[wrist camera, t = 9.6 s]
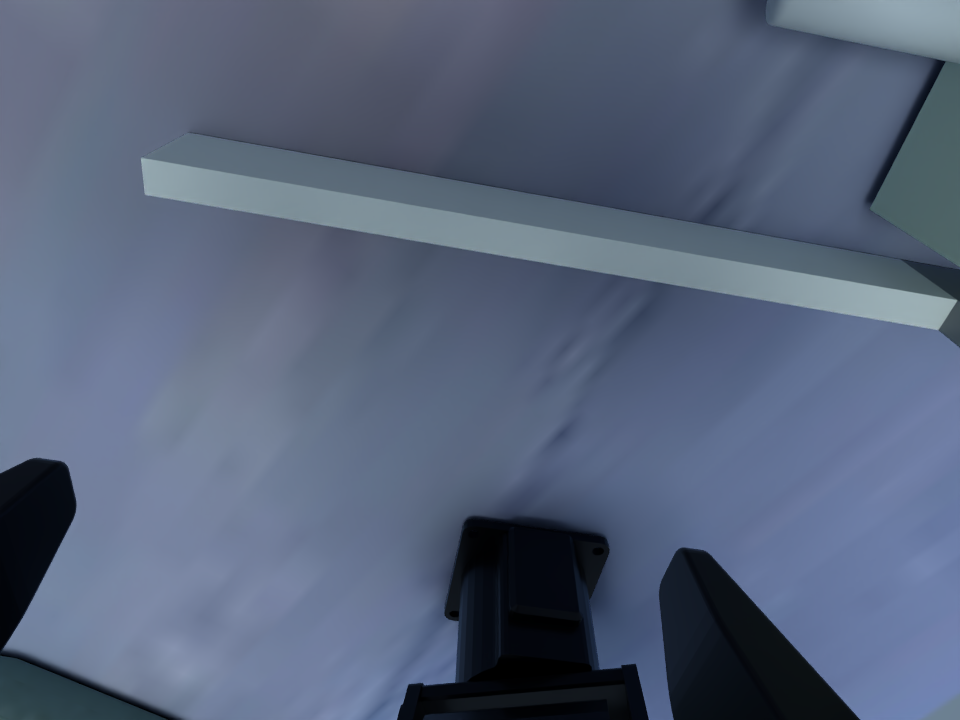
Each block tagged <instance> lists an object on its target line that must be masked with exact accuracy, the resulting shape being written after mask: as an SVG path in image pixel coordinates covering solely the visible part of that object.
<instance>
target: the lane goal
mask: <svg viewBox="0 0 960 720" xmlns="http://www.w3.org/2000/svg"><path fill="white" fill-rule="evenodd" d="M141 164H142V173H143V182H144V191H145V195H149V196H155V197H160V198H166V199H172V200H178V201H184V202H190V203H196V204H201V205H207V206H213V207H219V208H225V209H231V210H237V211H243V212H248V213H254V214H260V215H266V216H272V217H278V218H284V219H289V220H295V221H301V222H307V223H313V224H319V225H325V226H331V227H336V228H342V229H348V230H354V231H360V232H366V233H372V234H377V235H383V236H389V237H395V238H401V239H407V240H413V241H419V242H424V243H430V244H436V245H442V246H448V247H454V248H460V249H465V250H471V251H477V252H483V253H489V254H495V255H501V256H507V257H512V258H518V259H524V260H530V261H536V262H542V263H548V264H553V265H559V266H565V267H571V268H577V269H583V270H589V271H595V272H600V273H606V274H612V275H618V276H624V277H630V278H636V279H641V280H647V281H653V282H659V283H665V284H671V285H677V286H683V287H688V288H694V289H700V290H706V291H712V292H718V293H724V294H729V295H735V296H741V297H747V298H753V299H759V300H765V301H771V302H776V303H782V304H788V305H794V306H800V307H806V308H812V309H817V310H823V311H829V312H835V313H841V314H847V315H853V316H859V317H864V318H870V319H876V320H882V321H888V322H894V323H900V324H905V325H911V326H917V327H923V328H929V329H935V330H939V331H940V332H941V333H943V334H944V335H945V336H946V337H948V338H949V339H950V340H951V341H952V342H954V343H955V344H956V345H957V346H959V347H960V270H957V269H951V268H945V267H940V266H934V265H929V264H923V263H917V262H912V261H906V260H901V259H895V258H889V257H884V256H878V255H872V254H867V253H861V252H856V251H850V250H844V249H839V248H833V247H828V246H822V245H816V244H811V243H805V242H800V241H794V240H788V239H783V238H777V237H772V236H766V235H760V234H755V233H749V232H744V231H738V230H732V229H727V228H721V227H715V226H710V225H704V224H699V223H693V222H687V221H682V220H676V219H671V218H665V217H659V216H654V215H648V214H643V213H637V212H631V211H626V210H620V209H615V208H609V207H603V206H598V205H592V204H586V203H581V202H575V201H570V200H564V199H558V198H553V197H547V196H542V195H536V194H530V193H525V192H519V191H514V190H508V189H502V188H497V187H491V186H486V185H480V184H474V183H469V182H463V181H458V180H452V179H446V178H441V177H435V176H429V175H424V174H418V173H413V172H407V171H401V170H396V169H390V168H385V167H379V166H373V165H368V164H362V163H357V162H351V161H345V160H340V159H334V158H329V157H323V156H317V155H312V154H306V153H300V152H295V151H289V150H284V149H278V148H272V147H267V146H261V145H256V144H250V143H244V142H239V141H233V140H228V139H222V138H216V137H211V136H205V135H200V134H194V133H186V134H185V135H183V136H181V137H179V138H177V139H175V140H173V141H171V142H169V143H168V144H166V145H164V146H162V147H160V148H158V149H156V150H154V151H153V152H151V153H149V154H147V155H145V156H143V157H141Z"/></svg>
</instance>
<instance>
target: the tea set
mask: <svg viewBox="0 0 960 720" xmlns="http://www.w3.org/2000/svg"><path fill="white" fill-rule="evenodd" d="M0 720H167V719H165V718H162V717H160V716H157V715H155V714H152V713H150V712H147V711H145V710H143V709H140V708H138V707H135V706H133V705H130V704H128V703H125V702H123V701H120V700H118V699H115V698H113V697H111V696H108V695H106V694H103V693H101V692H98V691H96V690H93V689H91V688H88V687H86V686H83V685H81V684H79V683H76V682H74V681H71V680H69V679H66V678H64V677H61V676H59V675H56V674H54V673H51V672H49V671H47V670H44V669H42V668H39V667H37V666H34V665H32V664H29V663H27V662H24V661H22V660H19V659H17V658H11V657H5V656H0Z"/></svg>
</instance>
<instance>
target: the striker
mask: <svg viewBox="0 0 960 720" xmlns="http://www.w3.org/2000/svg"><path fill="white" fill-rule="evenodd" d="M765 17H766V22H767V24H768V25H771V26H776V27H781V28H786V29H790V30H795V31H800V32H805V33H810V34H815V35H820V36H825V37H830V38H835V39H840V40H844V41H849V42H854V43H859V44H864V45H869V46H874V47H879V48H884V49H889V50H894V51H898V52H903V53H908V54H913V55H918V56H923V57H928V58H933V59H938V60H943V61H946V62H945V64H944V66H943V68H942V70H941V72H940V74H939V76H938V78H937V79H936V81H935V83H934V85H933V87H932V89H931V91H930V93H929V95H928V97H927V99H926V101H925V103H924V105H923V107H922V109H921V111H920V112H919V114H918V116H917V118H916V120H915V122H914V124H913V126H912V128H911V130H910V132H909V134H908V136H907V138H906V140H905V142H904V144H903V145H902V147H901V149H900V151H899V153H898V155H897V157H896V159H895V161H894V163H893V165H892V167H891V169H890V171H889V173H888V175H887V177H886V178H885V180H884V182H883V184H882V186H881V188H880V190H879V192H878V194H877V196H876V198H875V200H874V202H873V204H872V206H871V208H870V210H871V211H873V212H874V213H876V214H878V215H879V216H881V217H882V218H884V219H885V220H887V221H888V222H890V223H892V224H893V225H895V226H896V227H898V228H899V229H901V230H902V231H904V232H906V233H907V234H909V235H910V236H912V237H913V238H915V239H917V240H918V241H920V242H921V243H923V244H924V245H926V246H927V247H929V248H931V249H932V250H934V251H935V252H937V253H938V254H940V255H941V256H943V257H945V258H946V259H948V260H949V261H951V262H952V263H954V264H955V265H957V266H959V267H960V0H767V3H766V11H765Z"/></svg>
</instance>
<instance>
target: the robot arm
mask: <svg viewBox="0 0 960 720" xmlns="http://www.w3.org/2000/svg"><path fill="white" fill-rule="evenodd" d="M75 513H76V498H75V494H74V489H73V485H72V481H71V476H70V472H69V469H68V466H67V465H66V464H65V463H64V462H61V461H57V460H49V459H42V458H33V459H29V460H27V461H25V462H23V463H21V464H19V465H17V466H15V467H13V468H10V469H8V470H6V471H4V472H2V473H0V653H1V651H2V650H3V648H4V646H5V645H6V643H7V642H8V640H9V639H10V637H11V636H12V634H13V632H14V631H15V629H16V628H17V626H18V624H19V623H20V621H21V619H22V618H23V616H24V614H25V612H26V610H27V609H28V607H29V605H30V603H31V601H32V599H33V597H34V595H35V593H36V592H37V590H38V588H39V586H40V584H41V582H42V580H43V578H44V576H45V574H46V572H47V570H48V568H49V566H50V564H51V562H52V560H53V558H54V556H55V554H56V552H57V550H58V548H59V546H60V544H61V542H62V540H63V539H64V537H65V535H66V533H67V531H68V529H69V527H70V525H71V523H72V521H73V519H74V516H75ZM471 530H476V531H471ZM597 547H600V548H597ZM609 551H610V549H609V544H608V541H607V540H606V539H605V538H603V537H600V536H593V535H586V534H578V533H571V532H564V531H557V530H550V529H543V528H535V527H528V526H521V525H514V524H507V523H499V522H492V521H485V520H478V519H471V520H467V521H466V522H465V523H464V525H463V527H462V532H461V536H460V541H459V545H458V550H457V554H456V559H455V563H454V568H453V572H452V577H451V581H450V585H449V590H448V594H447V599H446V603H445V612H444V613H445V616H446V618H448V619H450V620H453V621H459V627H458V645H457V662H456V680H455V683H446V684H435V685H424V684H423V683H417V684H409V685H408V688H407V692H406V695H405V699H404V702H403V705H401V707H400V711H399V714H398V718H397V720H649V719H648V714H647V710H646V706H645V701H644V697H643V693H642V688H641V684H640V680H639V676H638V671H637V667H636V664H629V665H621V667H622V668H614V669H603V670H600V669H599V662H598V655H597V648H596V642H595V635H594V628H593V621H592V615H591V608H590V598H591V596H592V594H593V591H594V589H595V586H596V584H597V581H598V579H599V577H600V574H601V572H602V569H603V567H604V564H605V562H606V560H607V557H608V555H609ZM659 600H660V610H661V620H662V630H663V641H664V651H665V661H666V671H667V681H668V689H669V697H670V702H671V708H672V713H673V718H674V720H860V719H859V718H858V717H857V716H856V715H855V713H854V712H853V711H852V710H851V709H850V708H849V707H848V706H847V705H846V704H845V702H844V701H843V700H842V699H841V698H840V697H839V696H838V695H837V694H836V693H835V691H834V690H833V689H832V688H831V687H830V686H829V685H828V684H827V683H826V681H825V680H824V679H823V678H822V677H821V676H820V675H819V674H818V673H817V672H816V670H815V669H814V668H813V667H812V666H811V665H810V664H809V663H808V662H807V661H806V659H805V658H804V657H803V656H802V655H801V654H800V653H799V652H798V651H797V650H796V648H795V647H794V646H793V645H792V644H791V643H790V642H789V641H788V640H787V639H786V637H785V636H784V635H783V634H782V633H781V632H780V631H779V630H778V629H777V628H776V626H775V625H774V624H773V623H772V622H771V621H770V620H769V619H768V618H767V617H766V615H765V614H764V613H763V612H762V611H761V610H760V609H759V608H758V607H757V606H756V604H755V603H754V602H753V601H752V600H751V599H750V598H749V597H748V596H747V595H746V593H745V592H744V591H743V590H742V589H741V588H740V587H739V586H738V585H737V583H736V582H735V581H734V580H733V579H732V578H731V577H730V576H729V575H728V574H727V572H726V571H725V570H724V569H723V568H722V567H721V566H720V565H719V564H718V563H717V561H716V560H715V559H714V558H713V557H712V556H711V555H710V554H709V553H708V552H706V551H704V550H698V549H691V548H680V549H678V550H677V551H676V553H675V554H674V556H673V558H672V560H671V562H670V564H669V566H668V568H667V570H666V572H665V575H664V577H663V579H662V581H661V584H660V589H659Z"/></svg>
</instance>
